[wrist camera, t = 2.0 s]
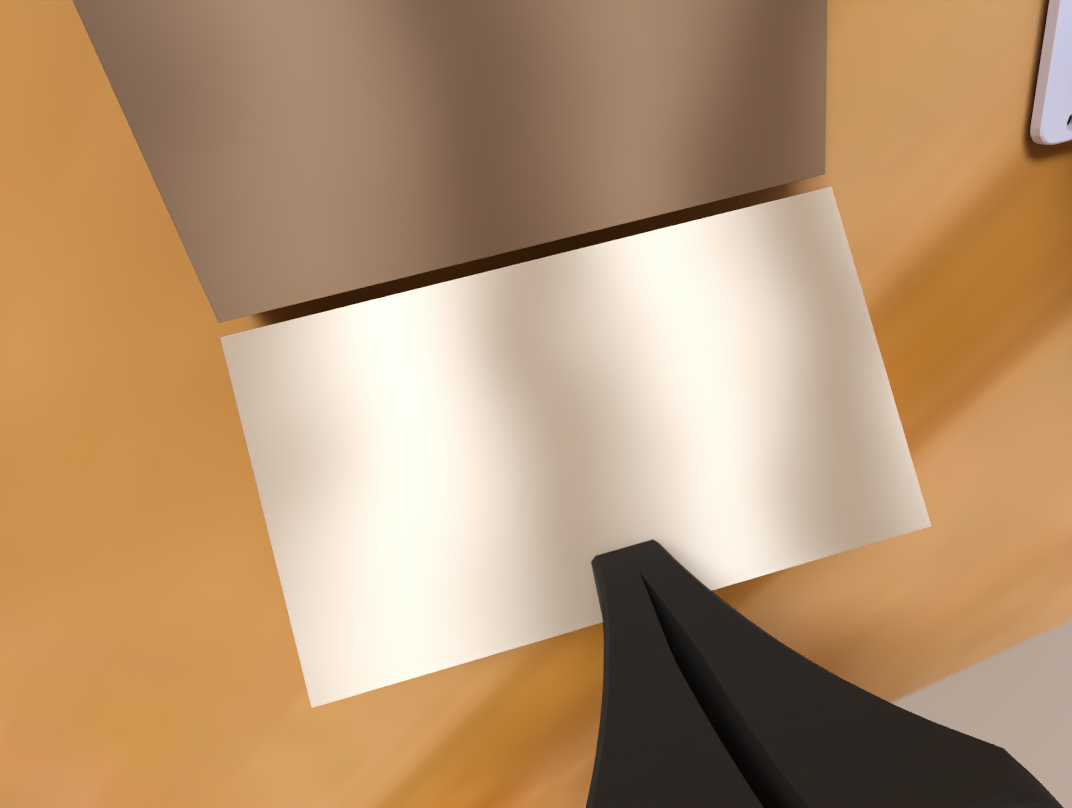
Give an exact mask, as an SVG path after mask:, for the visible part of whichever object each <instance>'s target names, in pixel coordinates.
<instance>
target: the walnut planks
mask: <svg viewBox="0 0 1072 808" xmlns="http://www.w3.org/2000/svg"><path fill="white" fill-rule="evenodd" d="M73 2H74V4H75V7H76V9H77V11H78V13H79V15H80V18H81V20H82V22H83V24H84V26H85V29H86V31H87V33H88V35H89V38H90V40H91V42H92V44H93V46H94V49H95V51H96V53H97V55H98V57H99V60H100V62H101V64H102V66H103V68H104V71H105V73H106V75H107V77H108V79H109V82H110V84H111V86H112V88H113V91H114V93H115V95H116V97H117V99H118V102H119V104H120V106H121V108H122V110H123V113H124V115H125V117H126V119H127V121H128V124H129V126H130V128H131V130H132V132H133V135H134V137H135V139H136V141H137V144H138V146H139V148H140V150H141V152H142V155H143V157H144V159H145V161H146V163H147V166H148V168H149V170H150V172H151V174H152V177H153V179H154V181H155V183H156V185H157V188H158V190H159V192H160V194H161V197H162V199H163V201H164V203H165V205H166V208H167V210H168V212H169V214H170V216H171V219H172V221H173V223H174V225H175V227H176V230H177V232H178V234H179V236H180V238H181V241H182V243H183V245H184V247H185V249H186V252H187V254H188V256H189V258H190V261H191V263H192V265H193V267H194V269H195V272H196V274H197V276H198V278H199V280H200V283H201V285H202V287H203V289H204V291H205V294H206V296H207V298H208V300H209V302H210V305H211V307H212V309H213V311H214V314H215V316H216V318H217V320H218V322H219V323H220V322H224V321H228V320H232V319H236V318H241V317H245V316H249V315H253V314H257V313H261V312H265V311H269V310H273V309H277V308H281V307H285V306H289V305H294V304H298V303H302V302H306V301H310V300H314V299H318V298H322V297H326V296H330V295H334V294H338V293H343V292H347V291H351V290H355V289H359V288H363V287H367V286H371V285H375V284H379V283H383V282H387V281H391V280H396V279H400V278H404V277H408V276H412V275H416V274H420V273H424V272H428V271H432V270H436V269H440V268H445V267H449V266H453V265H457V264H461V263H465V262H469V261H473V260H477V259H481V258H485V257H489V256H494V255H498V254H502V253H506V252H510V251H514V250H518V249H522V248H526V247H530V246H534V245H538V244H542V243H547V242H551V241H555V240H559V239H563V238H567V237H571V236H575V235H579V234H583V233H587V232H591V231H596V230H600V229H604V228H608V227H612V226H616V225H620V224H624V223H628V222H632V221H636V220H640V219H645V218H649V217H653V216H657V215H661V214H665V213H669V212H673V211H677V210H681V209H685V208H689V207H693V206H698V205H702V204H706V203H710V202H714V201H718V200H722V199H726V198H730V197H734V196H738V195H742V194H747V193H751V192H755V191H759V190H763V189H767V188H771V187H775V186H779V185H783V184H787V183H791V182H795V181H800V180H804V179H808V178H812V177H816V176H820V175H824V174H825V125H826V42H827V0H73Z"/></svg>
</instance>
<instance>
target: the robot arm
mask: <svg viewBox="0 0 1072 808" xmlns="http://www.w3.org/2000/svg"><path fill="white" fill-rule="evenodd" d="M1070 115H1071V120H1070V123H1069V124H1068V126H1067V121H1068V119H1069V117H1070ZM1030 135H1031V138H1032V140H1033V141H1034V142H1036V143H1037V144H1045V145H1055V144H1059V143H1063V142H1067V141H1071V140H1072V0H1049V7H1048V13H1047V20H1046V27H1045V33H1044V40H1043V47H1042V54H1041V60H1040V67H1039V74H1038V80H1037V87H1036V94H1035V101H1034V107H1033V114H1032V121H1031V127H1030ZM591 564H592V569H593V574H594V579H595V584H596V589H597V594H598V599H599V603H600V608H601V613H602V618H603V631H604V677H603V695H602V707H601V718H600V727H599V734H598V742H597V749H596V757H595V763H594V769H593V775H592V780H591V785H590V790H589V795H588V800H587V805H586V808H1063V807H1062V806H1061V805H1060V803H1059V802H1058V801H1057V800H1056V799H1055V798H1054V797H1053V796H1052V795H1051V794H1050V792H1049V791H1047V789H1046V788H1045V787H1044V786H1043V785H1042V784H1041V783H1040V782H1039V781H1038V780H1037V779H1036V778H1035V777H1034V776H1033V775H1032V774H1031V773H1030V772H1029V771H1028V770H1026V769H1025V768H1024V767H1023V766H1022V765H1021V764H1020V763H1019V762H1017V761H1016V760H1015V759H1014V758H1013V757H1012V756H1011V755H1010V754H1009V753H1008V752H1007V751H1006V750H1005V749H1003V748H1001V747H998V746H996V745H993V744H990V743H988V742H985V741H982V740H980V739H977V738H974V737H972V736H969V735H966V734H963V733H961V732H958V731H956V730H953V729H950V728H948V727H945V726H942V725H939V724H937V723H935V722H932V721H930V720H927V719H925V718H922V717H921V716H918V715H916V714H914V713H911V712H909V711H907V710H905V709H902V708H900V707H898V706H895V705H893V704H891V703H889V702H887V701H885V700H883V699H881V698H879V697H877V696H875V695H873V694H871V693H869V692H867V691H865V690H863V689H861V688H859V687H857V686H855V685H853V684H851V683H849V682H847V681H845V680H843V679H842V678H840V677H838V676H836V675H834V674H833V673H831V672H829V671H827V670H826V669H824V668H822V667H820V666H819V665H817V664H815V663H813V662H812V661H810V660H808V659H807V658H805V657H803V656H802V655H800V654H799V653H797V652H795V651H794V650H792V649H790V648H789V647H787V646H786V645H784V644H783V643H781V642H780V641H778V640H777V639H775V638H774V637H772V636H771V635H769V634H768V633H766V632H765V631H764V630H762V629H761V628H759V627H758V626H757V625H755V624H754V623H752V622H751V621H750V620H748V619H747V618H745V617H744V616H743V615H741V614H740V613H739V612H737V611H736V610H735V609H734V608H732V607H731V606H730V605H728V604H727V603H726V602H725V601H723V600H722V599H721V598H720V597H719V596H717V595H716V594H715V593H714V592H712V591H711V590H710V589H709V588H707V587H706V586H705V585H704V584H703V583H701V582H700V581H699V580H698V579H697V578H696V577H695V576H693V575H692V574H691V573H690V572H689V571H688V570H687V569H686V568H684V567H683V566H682V565H681V564H680V563H679V562H678V561H677V560H676V559H675V558H674V557H673V556H672V555H671V554H670V553H669V552H668V551H667V550H666V549H665V548H664V547H663V546H662V545H661V544H660V543H659V542H657V541H655V540H649V541H646V542H642V543H639V544H635V545H632V546H628V547H625V548H621V549H618V550H614V551H611V552H607V553H604V554H600V555H597V556H595V557H594V558H593V560H592V561H591Z"/></svg>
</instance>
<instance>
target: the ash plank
mask: <svg viewBox="0 0 1072 808" xmlns="http://www.w3.org/2000/svg"><path fill="white" fill-rule="evenodd" d="M220 338H221V342H222V346H223V350H224V354H225V358H226V362H227V366H228V370H229V374H230V379H231V383H232V387H233V391H234V395H235V399H236V403H237V407H238V411H239V415H240V419H241V423H242V427H243V431H244V435H245V439H246V443H247V447H248V452H249V456H250V460H251V464H252V468H253V472H254V476H255V480H256V484H257V488H258V492H259V496H260V500H261V504H262V508H263V512H264V516H265V520H266V525H267V529H268V533H269V537H270V541H271V545H272V549H273V553H274V557H275V561H276V565H277V569H278V573H279V577H280V581H281V585H282V589H283V593H284V598H285V602H286V606H287V610H288V614H289V618H290V622H291V626H292V630H293V634H294V638H295V642H296V646H297V650H298V654H299V658H300V662H301V666H302V671H303V675H304V679H305V683H306V687H307V691H308V695H309V699H310V703H311V707H312V708H313V707H316V706H320V705H323V704H326V703H330V702H333V701H337V700H340V699H343V698H347V697H350V696H354V695H357V694H361V693H364V692H367V691H371V690H374V689H378V688H381V687H384V686H388V685H391V684H395V683H398V682H401V681H405V680H408V679H412V678H415V677H419V676H422V675H425V674H429V673H432V672H436V671H439V670H442V669H446V668H449V667H453V666H456V665H459V664H463V663H466V662H470V661H473V660H476V659H480V658H483V657H487V656H490V655H494V654H497V653H500V652H504V651H507V650H511V649H514V648H517V647H521V646H524V645H528V644H531V643H534V642H538V641H541V640H545V639H548V638H551V637H555V636H558V635H562V634H565V633H569V632H572V631H575V630H579V629H582V628H586V627H589V626H592V625H596V624H599V623H603V618H602V613H601V608H600V603H599V599H598V594H597V589H596V584H595V579H594V574H593V569H592V564H591V561H592V560H593V558H594V557H595V556H597V555H600V554H604V553H607V552H611V551H614V550H618V549H621V548H625V547H628V546H632V545H635V544H639V543H642V542H646V541H649V540H655V541H657V542H659V543H660V544H661V545H662V546H663V547H664V548H665V549H666V550H667V551H668V552H669V553H670V554H671V555H672V556H673V557H674V558H675V559H676V560H677V561H678V562H679V563H680V564H681V565H682V566H683V567H684V568H686V569H687V570H688V571H689V572H690V573H691V574H692V575H693V576H695V577H696V578H697V579H698V580H699V581H700V582H701V583H703V584H704V585H705V586H706V587H707V588H709V589H710V590H711V591H712V590H715V589H719V588H722V587H725V586H729V585H732V584H736V583H739V582H742V581H746V580H749V579H753V578H756V577H759V576H763V575H766V574H770V573H773V572H776V571H780V570H783V569H787V568H790V567H794V566H797V565H800V564H804V563H807V562H811V561H814V560H817V559H821V558H824V557H828V556H831V555H834V554H838V553H841V552H845V551H848V550H851V549H855V548H858V547H862V546H865V545H869V544H872V543H875V542H879V541H882V540H886V539H889V538H892V537H896V536H899V535H903V534H906V533H909V532H913V531H916V530H920V529H923V528H926V527H930V526H931V524H930V520H929V517H928V513H927V510H926V507H925V503H924V500H923V496H922V493H921V490H920V486H919V483H918V479H917V476H916V473H915V469H914V466H913V462H912V459H911V456H910V452H909V449H908V445H907V442H906V439H905V435H904V432H903V428H902V425H901V421H900V418H899V415H898V411H897V408H896V404H895V401H894V398H893V394H892V391H891V387H890V384H889V381H888V377H887V374H886V370H885V367H884V364H883V360H882V357H881V353H880V350H879V347H878V343H877V340H876V336H875V333H874V330H873V326H872V323H871V319H870V316H869V313H868V309H867V306H866V302H865V299H864V295H863V292H862V289H861V285H860V282H859V278H858V275H857V272H856V268H855V265H854V261H853V258H852V255H851V251H850V248H849V244H848V241H847V238H846V234H845V231H844V227H843V224H842V221H841V217H840V214H839V210H838V207H837V204H836V200H835V197H834V193H833V190H832V187H828V188H823V189H819V190H815V191H811V192H807V193H803V194H799V195H795V196H791V197H787V198H783V199H779V200H775V201H771V202H767V203H763V204H759V205H755V206H751V207H746V208H742V209H738V210H734V211H730V212H726V213H722V214H718V215H714V216H710V217H706V218H702V219H698V220H694V221H690V222H686V223H682V224H678V225H674V226H669V227H665V228H661V229H657V230H653V231H649V232H645V233H641V234H637V235H633V236H629V237H625V238H621V239H617V240H613V241H609V242H605V243H601V244H597V245H593V246H588V247H584V248H580V249H576V250H572V251H568V252H564V253H560V254H556V255H552V256H548V257H544V258H540V259H536V260H532V261H528V262H524V263H520V264H516V265H511V266H507V267H503V268H499V269H495V270H491V271H487V272H483V273H479V274H475V275H471V276H467V277H463V278H459V279H455V280H451V281H447V282H443V283H439V284H434V285H430V286H426V287H422V288H418V289H414V290H410V291H406V292H402V293H398V294H394V295H390V296H386V297H382V298H378V299H374V300H370V301H366V302H362V303H357V304H353V305H349V306H345V307H341V308H337V309H333V310H329V311H325V312H321V313H317V314H313V315H309V316H305V317H301V318H297V319H293V320H289V321H285V322H281V323H276V324H272V325H268V326H264V327H260V328H256V329H252V330H248V331H244V332H240V333H236V334H232V335H228V336H224V337H220Z"/></svg>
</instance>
